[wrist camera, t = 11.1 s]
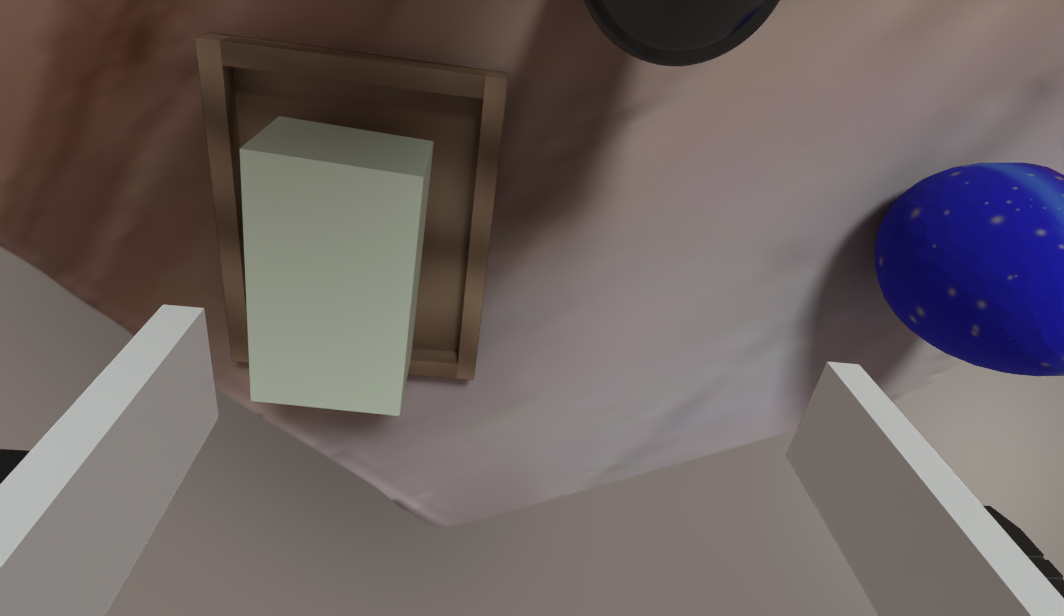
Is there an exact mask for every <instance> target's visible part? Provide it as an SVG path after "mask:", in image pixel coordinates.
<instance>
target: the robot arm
mask: <svg viewBox="0 0 1064 616" xmlns="http://www.w3.org/2000/svg"><path fill="white" fill-rule="evenodd" d="M218 417H219V416H218V408H217V401H216V393H215V386H214V378H213V371H212V363H211V356H210V348H209V341H208V333H207V326H206V318H205V311H204V308H198V307H186V306H175V305H162V306H161V307H160V308H159V310H158V311H157V312H156V313H155V314H154V315H153V316H152V317H151V318H150V319H149V321H148V322H147V323H146V324H145V325H144V326H143V327H142V328H141V329H140V331H139V332H138V333H137V334H136V335H135V336H134V337H133V338H132V339H131V341H130V342H129V343H128V344H127V345H126V346H125V347H124V348H123V349H122V351H121V352H120V353H119V354H118V355H117V356H116V357H115V358H114V359H113V360H112V362H111V363H110V364H109V365H108V366H107V367H106V368H105V369H104V371H102V373H101V374H100V375H99V376H98V377H97V378H96V379H95V380H94V381H93V382H92V384H91V385H90V386H89V387H88V388H87V389H86V390H85V391H84V392H83V394H82V395H81V396H80V397H79V398H78V399H77V400H76V401H75V402H74V403H73V405H72V406H71V407H70V408H69V409H68V410H67V411H66V412H65V413H64V415H63V416H62V417H61V418H60V419H59V420H58V421H57V422H56V424H54V426H53V427H52V428H51V429H50V430H49V431H48V432H47V433H46V435H44V437H43V438H42V439H41V440H40V441H39V442H38V443H37V444H36V445H35V447H34V448H33V449H32V450H31V451H23V450H6V449H1V450H0V616H105V615H106V613H107V611H108V609H109V608H110V606H111V604H112V602H113V601H114V599H115V597H116V595H117V594H118V592H119V590H120V588H121V587H122V585H123V583H124V581H125V580H126V578H127V576H128V574H129V573H130V571H131V569H132V568H133V566H134V564H135V562H136V561H137V559H138V557H139V555H140V553H141V552H142V550H143V548H144V546H145V545H146V543H147V541H148V539H149V538H150V536H151V534H152V533H153V531H154V529H155V527H156V526H157V524H158V522H159V520H160V518H161V517H162V515H163V513H164V512H165V510H166V508H167V506H168V505H169V503H170V501H171V499H172V498H173V496H174V494H175V492H176V491H177V489H178V487H179V485H180V484H181V482H182V480H183V479H184V477H185V475H186V473H187V472H188V470H189V468H190V466H191V465H192V463H193V461H194V459H195V457H196V456H197V454H198V452H199V451H200V449H201V447H202V445H203V444H204V442H205V440H206V438H207V437H208V435H209V433H210V431H211V430H212V428H213V426H214V424H215V423H216V421H217V419H218ZM786 456H787V458H788V460H789V461H790V463H791V465H792V467H793V469H794V470H795V472H796V474H797V476H798V477H799V479H800V481H801V483H802V484H803V486H804V487H805V489H806V491H807V493H808V495H809V496H810V498H811V500H812V502H813V503H814V505H815V507H816V509H817V510H818V512H819V514H820V515H821V517H822V519H823V521H824V522H825V524H826V526H827V528H828V529H829V531H830V533H831V534H832V536H833V538H834V539H835V541H836V543H837V545H838V547H839V548H840V550H841V552H842V554H843V555H844V557H845V558H846V561H847V562H848V564H849V566H850V567H851V569H852V571H853V573H854V574H855V576H856V578H857V579H858V581H859V583H860V585H861V586H862V588H863V590H864V592H865V594H866V595H867V597H868V599H869V600H870V602H871V604H872V606H873V607H874V609H875V611H876V613H877V614H878V616H1064V580H1063V575H1062V574H1061V573H1060V572H1059V571H1058V570H1057V569H1056V568H1055V567H1054V566H1053V564H1051V562H1050V561H1049V560H1045V559H1044V558H1043V556H1044V555H1043V553H1042V552H1041V551H1040V550H1039V549H1038V548H1037V547H1036V546H1035V545H1034V543H1033V542H1032V541H1031V540H1030V539H1029V538H1028V537H1027V536H1026V535H1025V533H1024V532H1023V531H1021V529H1020V528H1018V527H1017V526H1015V525H1014V524H1013V523H1012V522H1011V521H1009V520H1008V519H1007V518H1005V517H1004V516H1003V515H1001V514H1000V513H999V512H997V511H996V510H995V509H993V508H992V507H991V506H983V505H982V504H981V503H980V502H979V501H978V500H977V499H976V497H975V496H974V495H973V494H972V493H971V492H970V491H969V489H968V488H967V487H966V486H965V485H964V484H963V483H962V482H961V480H960V479H959V478H958V477H957V476H956V475H955V473H954V472H953V471H952V470H951V469H950V468H949V467H948V465H947V464H946V463H945V462H944V461H943V460H942V459H941V457H940V456H939V455H938V454H937V453H936V452H935V451H934V449H933V448H932V447H931V446H930V445H929V444H928V443H927V441H926V440H925V439H924V438H923V437H922V436H921V435H920V433H919V432H918V431H917V430H916V429H915V428H914V427H913V425H912V424H911V423H910V422H909V421H908V420H907V419H906V417H905V416H904V415H903V414H902V413H901V412H900V411H899V409H898V408H897V407H896V406H895V405H894V404H893V403H892V401H891V400H890V399H889V398H888V397H887V396H886V395H885V393H884V392H883V391H882V390H881V389H880V388H879V387H878V385H877V384H876V383H875V382H874V381H873V380H872V379H871V377H870V376H869V375H868V374H867V373H866V372H865V371H864V369H863V368H862V367H861V366H860V365H859V364H849V363H837V362H827V363H826V365H825V367H824V369H823V372H822V374H821V376H820V378H819V381H818V383H817V385H816V387H815V390H814V392H813V394H812V397H811V399H810V401H809V403H808V406H807V408H806V410H805V412H804V415H803V417H802V419H801V422H800V424H799V426H798V428H797V431H796V433H795V435H794V438H793V440H792V442H791V444H790V446H789V449H788V451H787V454H786Z"/></svg>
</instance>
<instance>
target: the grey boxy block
mask: <svg viewBox="0 0 1064 616" xmlns="http://www.w3.org/2000/svg"><path fill="white" fill-rule="evenodd" d="M433 144H434V141H429V140H423V139H417V138H411V137H405V136H398V135H392V134H386V133H380V132H374V131H368V130H361V129H355V128H349V127H343V126H337V125H331V124H324V123H318V122H312V121H306V120H300V119H294V118H288V117H281V116H279V117H277V118H276V119H275V120H274V121H273V122H271V123H270V124H269V125H268V126H266V127H265V128H264V129H263V130H262V131H260V132H259V133H258V134H257V135H255V136H254V137H253V138H252V139H251V140H249V141H248V142H247V143H246V144H244V145H243V146H242V147H241V148H240V170H241V192H242V215H243V237H244V260H245V282H246V305H247V327H248V350H249V372H250V395H251V401H257V402H267V403H277V404H286V405H296V406H306V407H316V408H325V409H335V410H345V411H355V412H364V413H374V414H384V415H394V416H400V412H401V406H402V401H403V396H404V391H405V386H406V380H407V375H408V370H409V365H410V360H411V353H412V344H413V334H414V325H415V315H416V306H417V296H418V287H419V277H420V268H421V258H422V249H423V239H424V230H425V220H426V211H427V201H428V192H429V182H430V173H431V163H432V154H433Z"/></svg>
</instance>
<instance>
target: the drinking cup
mask: <svg viewBox="0 0 1064 616" xmlns="http://www.w3.org/2000/svg"><path fill="white" fill-rule="evenodd" d="M779 1H780V0H584V2H585V4H586V6H587V8H588V10H589V12H590V14H591V16H592V18H593V19H594V21H595V22H596V24H597V25H598V27H599V28H600V29H601V30H602V32H603V33H604V34H605V35H606V36H607V37H608V38H609V39H610V40H611V41H612V42H613V43H614V44H615V45H617V46H618V47H619V48H621V49H622V50H623V51H625V52H627V53H628V54H630V55H632V56H634V57H636V58H638V59H640V60H643V61H646V62H649V63H653V64H657V65H664V66H687V65H693V64H698V63H702V62H705V61H709V60H712V59H714V58H716V57H719V56H721V55H723V54H725V53H727V52H729V51H730V50H732V49H733V48H735V47H736V46H738V45H739V44H741V43H742V42H743V41H745V40H746V39H747V38H748V37H750V36H751V35H752V34H753V33H754V32H755V31H756V30H757V29H758V28H759V27H760V26H761V25H762V24H763V23H764V22H765V20H766V19H767V18H768V17H769V15H770V14H771V13H772V11H773V10H774V9H775V7H776V5H777V4H778V2H779Z"/></svg>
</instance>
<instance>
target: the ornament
mask: <svg viewBox="0 0 1064 616" xmlns="http://www.w3.org/2000/svg"><path fill="white" fill-rule="evenodd" d="M875 267H876V272H877V277H878V281H879V284H880V287H881V290H882V292H883V295H884V298H885V300H886V301H887V303H888V304H889V306H890V307H891V309H892V310H893V312H894V313H895V314H896V315H897V316H898V318H899V319H900V320H901V321H902V322H903V323H904V324H905V325H906V326H907V327H908V328H909V329H910V330H912V331H913V332H914V333H916V334H917V335H918V336H920V337H921V338H923V339H924V340H925V341H927V342H928V343H929V344H931V345H932V346H934V347H936V348H938V349H940V350H941V351H943V352H945V353H947V354H949V355H951V356H954V357H956V358H959V359H961V360H964V361H966V362H968V363H971V364H973V365H976V366H980V367H984V368H988V369H992V370H996V371H1000V372H1005V373H1011V374H1019V375H1031V376H1064V175H1063V174H1060V173H1058V172H1056V171H1054V170H1052V169H1050V168H1048V167H1043V166H1039V165H1035V164H1028V163H977V164H971V165H966V166H960V167H954V168H951V169H948V170H945V171H942V172H940V173H937V174H934V175H932V176H929V177H927V178H925V179H923V180H921V181H920V182H918V183H916V184H915V185H913V186H912V187H911V188H910V189H908V190H907V191H906V192H905V193H903V194H902V195H901V196H900V197H899V198H898V199H897V200H896V201H895V203H894V204H893V205H892V206H891V207H890V209H889V210H888V212H887V213H886V215H885V217H884V219H883V221H882V223H881V226H880V228H879V231H878V233H877V239H876V246H875Z"/></svg>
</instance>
